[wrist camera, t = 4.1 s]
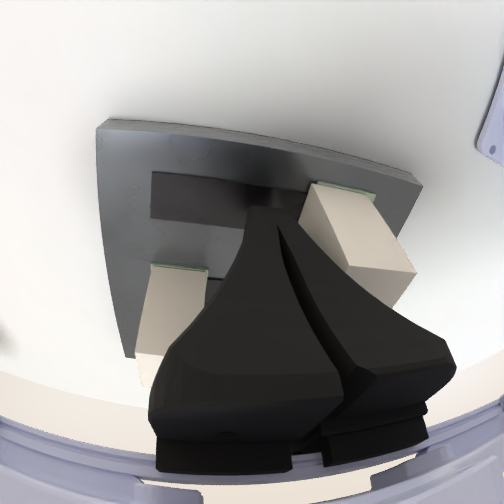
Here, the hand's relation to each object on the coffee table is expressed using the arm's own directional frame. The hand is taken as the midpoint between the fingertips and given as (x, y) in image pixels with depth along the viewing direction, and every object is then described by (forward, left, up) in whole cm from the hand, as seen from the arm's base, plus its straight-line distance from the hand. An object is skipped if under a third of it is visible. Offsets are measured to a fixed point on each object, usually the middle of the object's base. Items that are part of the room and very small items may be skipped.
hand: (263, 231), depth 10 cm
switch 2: (-3, 0, -1) cm, 3 cm away
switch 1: (+3, +5, -1) cm, 6 cm away
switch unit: (0, +5, -3) cm, 6 cm away
